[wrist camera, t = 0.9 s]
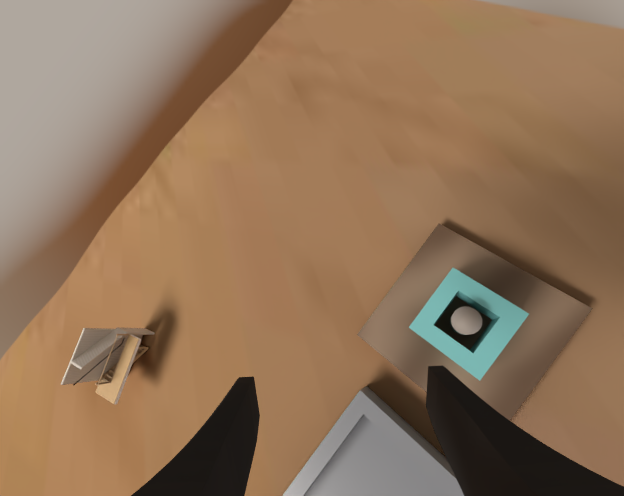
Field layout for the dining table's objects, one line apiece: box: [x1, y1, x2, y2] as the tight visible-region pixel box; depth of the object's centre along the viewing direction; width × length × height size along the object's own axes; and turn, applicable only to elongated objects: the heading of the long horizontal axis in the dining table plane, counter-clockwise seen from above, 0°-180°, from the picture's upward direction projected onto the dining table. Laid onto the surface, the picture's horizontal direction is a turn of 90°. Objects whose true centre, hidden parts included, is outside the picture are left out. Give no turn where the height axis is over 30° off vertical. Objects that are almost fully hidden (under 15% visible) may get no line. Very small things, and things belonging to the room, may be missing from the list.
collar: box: [409, 268, 529, 381], centre depth 23 cm, size 5×5×4 cm
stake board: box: [357, 224, 592, 421], centre depth 23 cm, size 12×12×6 cm
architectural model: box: [61, 328, 155, 404], centre depth 34 cm, size 3×7×8 cm, turn 162°
